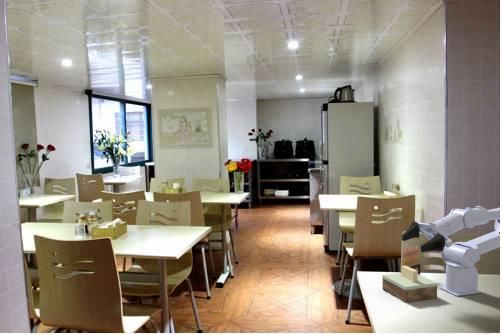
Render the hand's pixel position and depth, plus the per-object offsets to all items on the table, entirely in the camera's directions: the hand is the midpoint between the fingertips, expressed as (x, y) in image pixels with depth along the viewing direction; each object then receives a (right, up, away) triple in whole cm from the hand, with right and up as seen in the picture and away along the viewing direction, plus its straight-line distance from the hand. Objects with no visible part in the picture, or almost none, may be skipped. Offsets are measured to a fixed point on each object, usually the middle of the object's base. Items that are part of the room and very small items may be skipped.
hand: (411, 243), depth 129 cm
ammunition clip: (+8, -17, +21) cm, 28 cm away
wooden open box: (+2, -18, +7) cm, 19 cm away
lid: (+2, -15, +7) cm, 16 cm away
